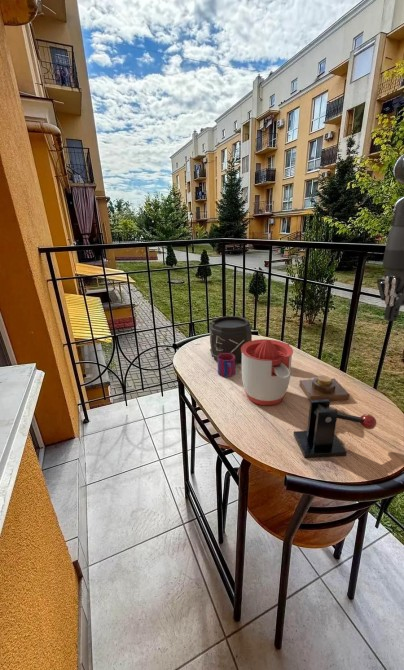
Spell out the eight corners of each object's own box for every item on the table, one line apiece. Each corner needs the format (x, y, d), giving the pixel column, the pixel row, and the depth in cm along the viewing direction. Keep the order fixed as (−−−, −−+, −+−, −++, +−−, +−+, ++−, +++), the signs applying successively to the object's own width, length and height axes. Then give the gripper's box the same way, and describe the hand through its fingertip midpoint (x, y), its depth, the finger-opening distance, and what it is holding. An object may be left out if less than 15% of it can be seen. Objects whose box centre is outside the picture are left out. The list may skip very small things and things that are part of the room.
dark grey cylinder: (200, 356, 122) (198, 322, 116) (228, 344, 133) (228, 312, 127) (231, 370, 109) (231, 332, 103) (259, 355, 120) (260, 321, 114)
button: (327, 379, 93) (328, 375, 92) (332, 386, 89) (333, 381, 88) (315, 380, 93) (315, 375, 92) (320, 386, 89) (321, 381, 88)
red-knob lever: (366, 424, 71) (373, 412, 70) (375, 433, 68) (382, 422, 66) (311, 412, 69) (317, 400, 68) (317, 421, 66) (323, 409, 65)
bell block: (333, 383, 97) (335, 373, 95) (348, 400, 88) (350, 389, 86) (299, 385, 97) (300, 375, 95) (310, 402, 87) (311, 391, 86)
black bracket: (330, 433, 74) (336, 395, 70) (346, 456, 67) (353, 415, 63) (293, 435, 74) (297, 397, 70) (304, 458, 67) (309, 417, 63)
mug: (234, 368, 111) (234, 352, 108) (237, 381, 101) (237, 364, 99) (217, 369, 111) (216, 353, 108) (219, 382, 101) (218, 365, 99)
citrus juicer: (260, 419, 81) (262, 356, 74) (232, 389, 96) (231, 335, 89) (303, 405, 86) (309, 345, 79) (270, 379, 101) (273, 327, 94)
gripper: (446, 248, 57) (425, 328, 64) (401, 244, 70) (387, 311, 76) (409, 250, 57) (392, 329, 63) (371, 246, 70) (360, 313, 76)
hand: (390, 319), depth 70 cm, fingers closed
